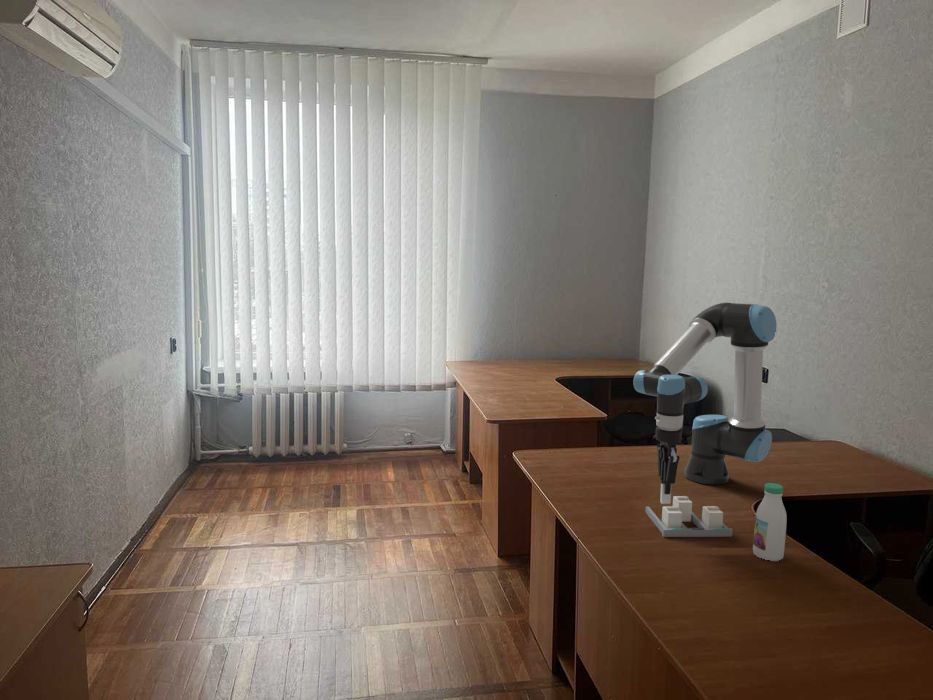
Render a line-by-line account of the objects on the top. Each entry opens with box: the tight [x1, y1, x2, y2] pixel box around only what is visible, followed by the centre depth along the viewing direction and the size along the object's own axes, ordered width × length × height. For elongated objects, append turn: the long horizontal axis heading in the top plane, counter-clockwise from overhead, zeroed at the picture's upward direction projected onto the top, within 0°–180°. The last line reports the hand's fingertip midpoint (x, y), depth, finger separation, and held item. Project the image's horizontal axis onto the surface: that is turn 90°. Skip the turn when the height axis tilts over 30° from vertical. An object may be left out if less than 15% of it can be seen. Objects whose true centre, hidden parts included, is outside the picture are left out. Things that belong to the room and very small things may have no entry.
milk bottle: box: [752, 482, 788, 562], centre depth 181 cm, size 8×8×20 cm
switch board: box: [645, 506, 734, 538], centre depth 199 cm, size 20×18×4 cm
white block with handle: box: [661, 505, 683, 529], centre depth 194 cm, size 4×5×7 cm
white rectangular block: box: [701, 505, 724, 528], centre depth 195 cm, size 4×5×7 cm
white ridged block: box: [672, 495, 693, 523], centre depth 202 cm, size 4×5×7 cm
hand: (665, 502), depth 202 cm, fingers closed
